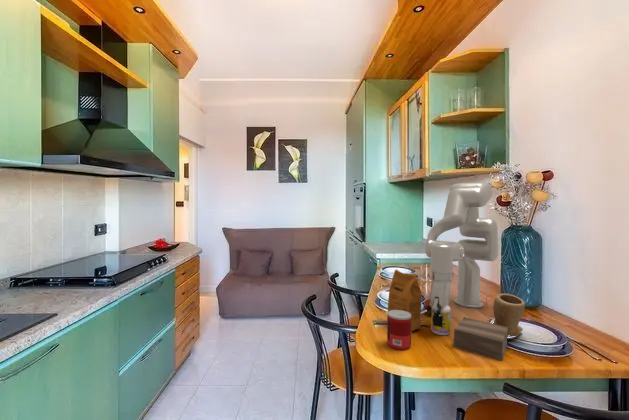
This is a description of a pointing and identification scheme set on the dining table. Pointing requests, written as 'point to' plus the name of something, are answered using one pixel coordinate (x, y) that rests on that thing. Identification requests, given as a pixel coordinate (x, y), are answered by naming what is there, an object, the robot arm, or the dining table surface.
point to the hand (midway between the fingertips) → (440, 322)
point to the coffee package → (406, 296)
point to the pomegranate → (428, 306)
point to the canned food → (399, 329)
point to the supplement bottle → (445, 321)
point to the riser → (481, 338)
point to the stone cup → (508, 312)
